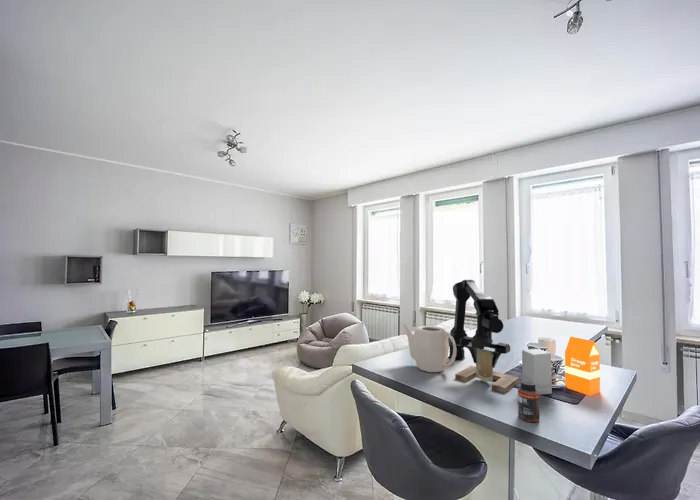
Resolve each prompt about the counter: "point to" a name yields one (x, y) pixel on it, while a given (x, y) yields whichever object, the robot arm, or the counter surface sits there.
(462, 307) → the robot arm
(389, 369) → the counter surface
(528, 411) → the supplement bottle
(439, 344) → the watering can
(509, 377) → the notched board
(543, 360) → the skincare box
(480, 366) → the skincare box
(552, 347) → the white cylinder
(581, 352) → the orange juice
